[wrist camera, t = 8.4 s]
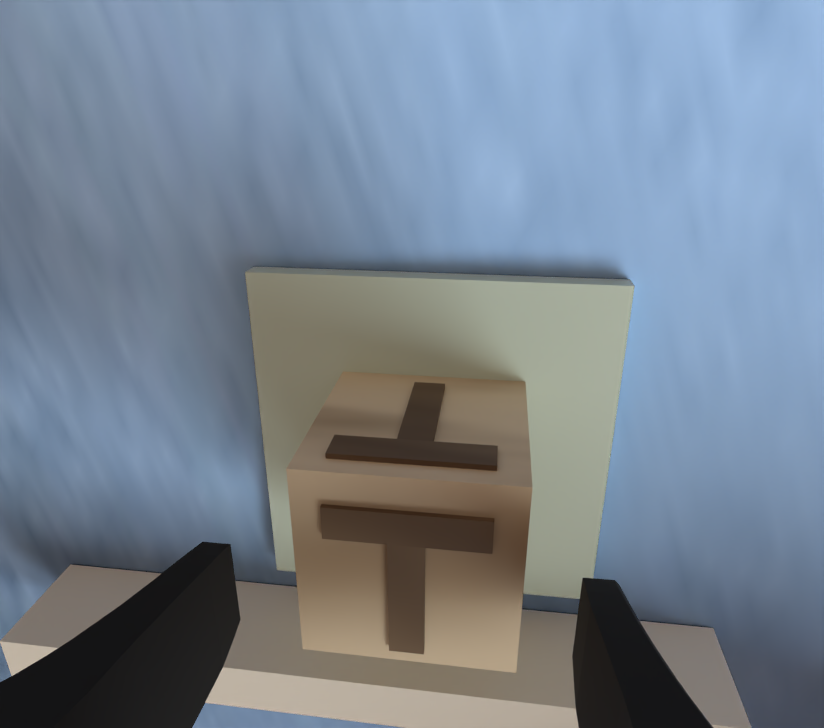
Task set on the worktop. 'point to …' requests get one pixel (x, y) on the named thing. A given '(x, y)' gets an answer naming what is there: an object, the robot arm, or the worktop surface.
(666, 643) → the cream board
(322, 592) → the lettered cube
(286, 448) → the pad
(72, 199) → the worktop surface
